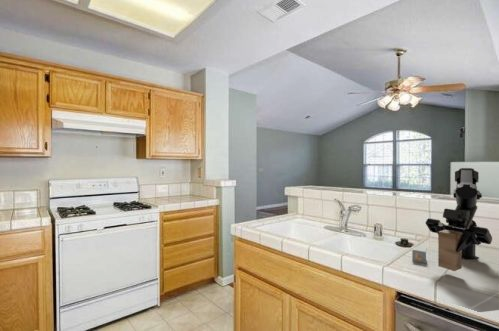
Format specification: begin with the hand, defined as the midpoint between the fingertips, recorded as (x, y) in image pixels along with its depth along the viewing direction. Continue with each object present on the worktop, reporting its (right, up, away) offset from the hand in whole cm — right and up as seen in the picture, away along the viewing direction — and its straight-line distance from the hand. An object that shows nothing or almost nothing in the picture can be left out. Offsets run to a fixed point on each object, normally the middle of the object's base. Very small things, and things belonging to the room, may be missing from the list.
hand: (448, 249), depth 93 cm
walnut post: (+1, -7, +1) cm, 7 cm away
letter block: (0, -9, +15) cm, 18 cm away
